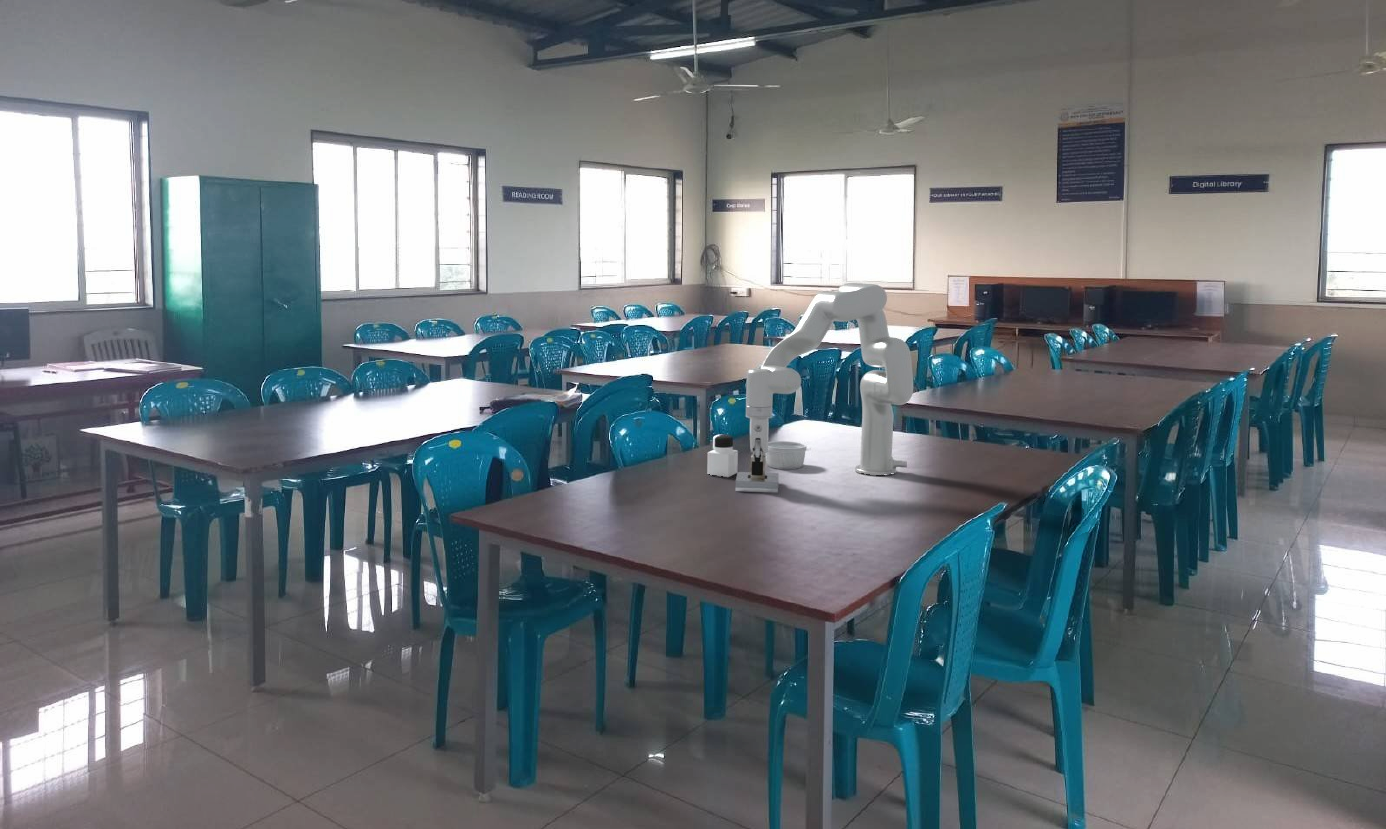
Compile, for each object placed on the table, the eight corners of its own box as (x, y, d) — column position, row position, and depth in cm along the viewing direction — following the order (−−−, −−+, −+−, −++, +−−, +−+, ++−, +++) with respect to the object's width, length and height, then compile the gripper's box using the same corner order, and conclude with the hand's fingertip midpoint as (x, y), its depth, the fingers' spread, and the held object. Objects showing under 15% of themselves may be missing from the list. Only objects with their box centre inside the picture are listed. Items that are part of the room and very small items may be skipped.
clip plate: (778, 483, 302) (778, 473, 302) (778, 492, 291) (778, 482, 290) (737, 481, 303) (737, 471, 303) (735, 491, 292) (735, 480, 291)
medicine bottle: (737, 473, 315) (738, 434, 314) (728, 477, 309) (729, 438, 307) (716, 470, 318) (717, 432, 317) (706, 475, 312) (707, 436, 310)
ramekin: (805, 462, 333) (806, 441, 332) (806, 471, 320) (806, 449, 319) (764, 461, 334) (765, 440, 333) (763, 469, 321) (763, 447, 320)
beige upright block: (764, 482, 298) (765, 455, 297) (764, 485, 295) (765, 457, 294) (750, 482, 299) (751, 455, 297) (750, 484, 296) (751, 457, 294)
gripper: (771, 417, 285) (770, 479, 288) (772, 407, 302) (771, 466, 305) (744, 416, 285) (743, 478, 288) (746, 407, 302) (745, 465, 305)
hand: (757, 471), depth 296 cm, fingers open, 8 cm apart
